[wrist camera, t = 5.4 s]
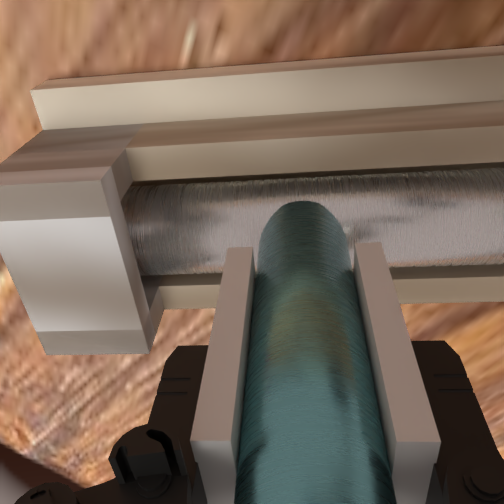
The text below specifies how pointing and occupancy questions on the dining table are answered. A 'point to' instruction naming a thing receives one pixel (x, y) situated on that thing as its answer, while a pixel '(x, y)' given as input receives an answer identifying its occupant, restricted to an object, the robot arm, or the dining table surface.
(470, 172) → the sliding bolt
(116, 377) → the dining table surface
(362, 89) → the rail
